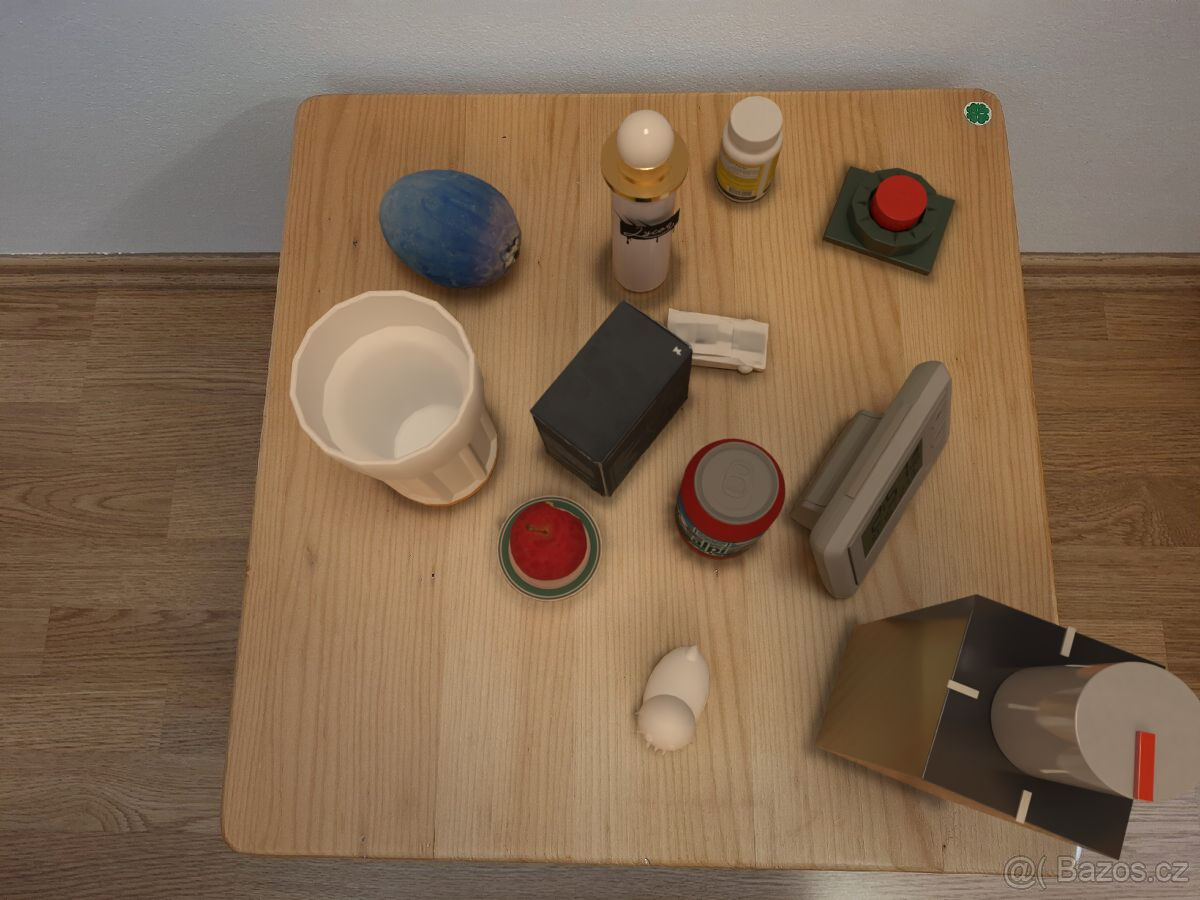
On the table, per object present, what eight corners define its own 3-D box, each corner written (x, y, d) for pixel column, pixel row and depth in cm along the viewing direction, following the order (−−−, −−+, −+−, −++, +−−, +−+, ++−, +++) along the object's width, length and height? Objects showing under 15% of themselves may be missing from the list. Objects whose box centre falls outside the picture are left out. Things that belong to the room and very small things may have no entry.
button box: (952, 204, 74) (963, 188, 72) (928, 276, 73) (938, 262, 70) (848, 170, 75) (856, 152, 73) (822, 240, 74) (829, 225, 71)
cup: (525, 394, 71) (494, 303, 54) (496, 532, 68) (452, 482, 51) (388, 371, 72) (315, 275, 55) (353, 507, 69) (265, 449, 52)
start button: (926, 196, 72) (933, 184, 70) (911, 238, 71) (918, 227, 69) (878, 180, 73) (884, 168, 71) (863, 221, 72) (869, 210, 70)
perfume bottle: (598, 247, 74) (589, 92, 55) (666, 232, 74) (680, 72, 55) (614, 309, 73) (610, 173, 53) (683, 294, 73) (704, 152, 53)
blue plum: (528, 261, 63) (349, 182, 65) (520, 347, 70) (359, 272, 72) (584, 198, 68) (416, 127, 71) (571, 283, 75) (419, 216, 77)
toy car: (668, 313, 72) (669, 302, 70) (767, 323, 72) (771, 312, 70) (662, 367, 71) (663, 357, 69) (763, 378, 71) (767, 368, 69)
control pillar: (974, 672, 64) (1171, 665, 41) (937, 798, 62) (1123, 865, 39) (852, 624, 66) (976, 590, 42) (812, 746, 64) (919, 781, 40)
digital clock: (833, 613, 66) (872, 599, 56) (744, 526, 68) (765, 498, 57) (976, 463, 68) (1037, 424, 58) (886, 384, 70) (931, 332, 60)
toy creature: (622, 738, 64) (621, 744, 58) (663, 634, 66) (667, 629, 60) (681, 765, 63) (687, 773, 57) (721, 658, 65) (731, 656, 59)
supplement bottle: (753, 145, 76) (768, 81, 68) (782, 188, 75) (801, 128, 67) (704, 169, 76) (713, 107, 68) (732, 213, 74) (745, 155, 66)
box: (624, 350, 72) (623, 294, 62) (689, 397, 70) (700, 349, 60) (540, 450, 70) (526, 411, 60) (607, 501, 69) (603, 469, 58)
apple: (489, 508, 69) (476, 490, 62) (591, 488, 69) (588, 468, 63) (507, 611, 67) (494, 603, 60) (612, 590, 67) (610, 580, 60)
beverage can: (661, 543, 68) (668, 513, 56) (690, 462, 69) (702, 417, 58) (747, 573, 67) (771, 550, 55) (773, 490, 68) (803, 450, 57)
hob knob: (994, 656, 42) (1082, 649, 34) (1104, 677, 41) (1219, 675, 33) (985, 767, 40) (1074, 788, 32) (1098, 790, 40) (1216, 816, 32)
